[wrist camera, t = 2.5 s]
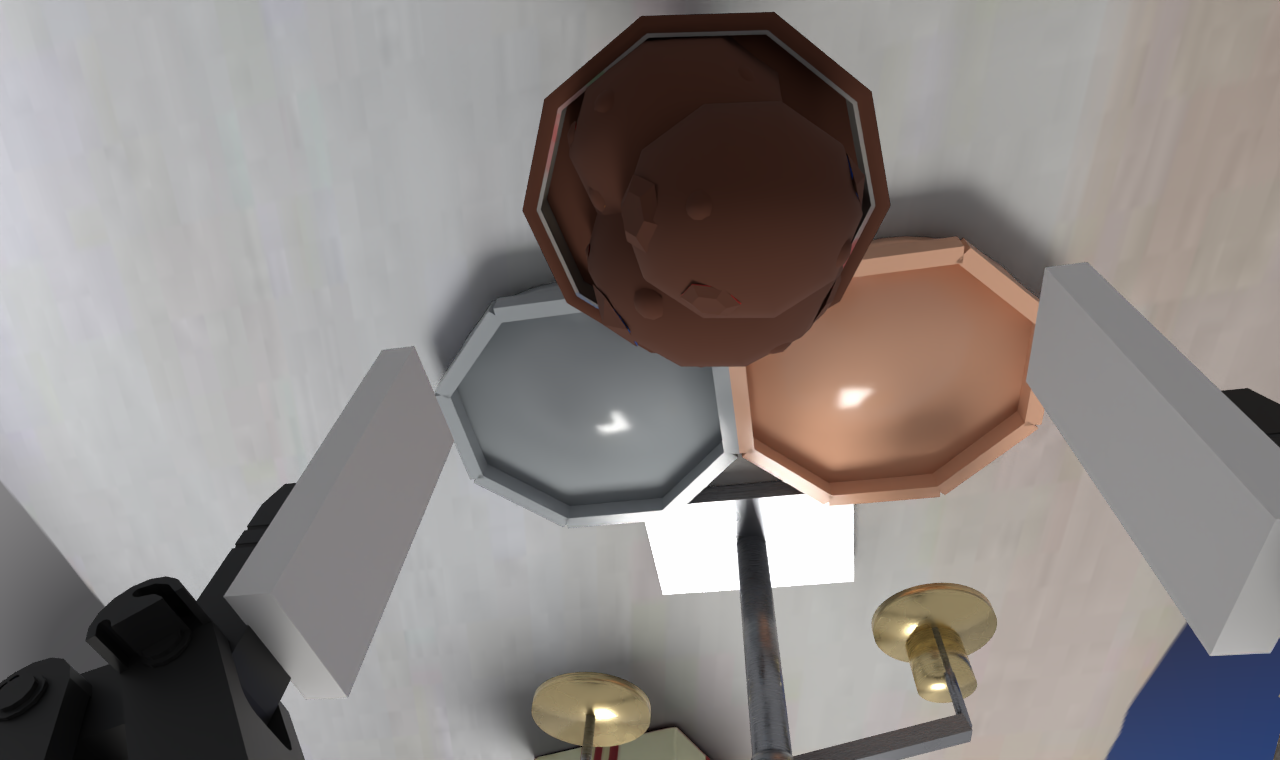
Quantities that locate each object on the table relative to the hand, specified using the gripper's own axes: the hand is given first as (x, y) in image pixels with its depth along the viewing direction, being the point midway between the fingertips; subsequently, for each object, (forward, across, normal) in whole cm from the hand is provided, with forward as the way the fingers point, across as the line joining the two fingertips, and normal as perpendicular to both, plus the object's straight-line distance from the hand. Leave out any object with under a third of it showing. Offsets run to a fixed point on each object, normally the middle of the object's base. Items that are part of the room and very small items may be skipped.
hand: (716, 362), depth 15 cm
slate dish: (+17, -8, -14) cm, 23 cm away
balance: (+18, 0, -25) cm, 30 cm away
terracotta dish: (+18, +7, -14) cm, 23 cm away
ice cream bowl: (+18, 0, 0) cm, 18 cm away
